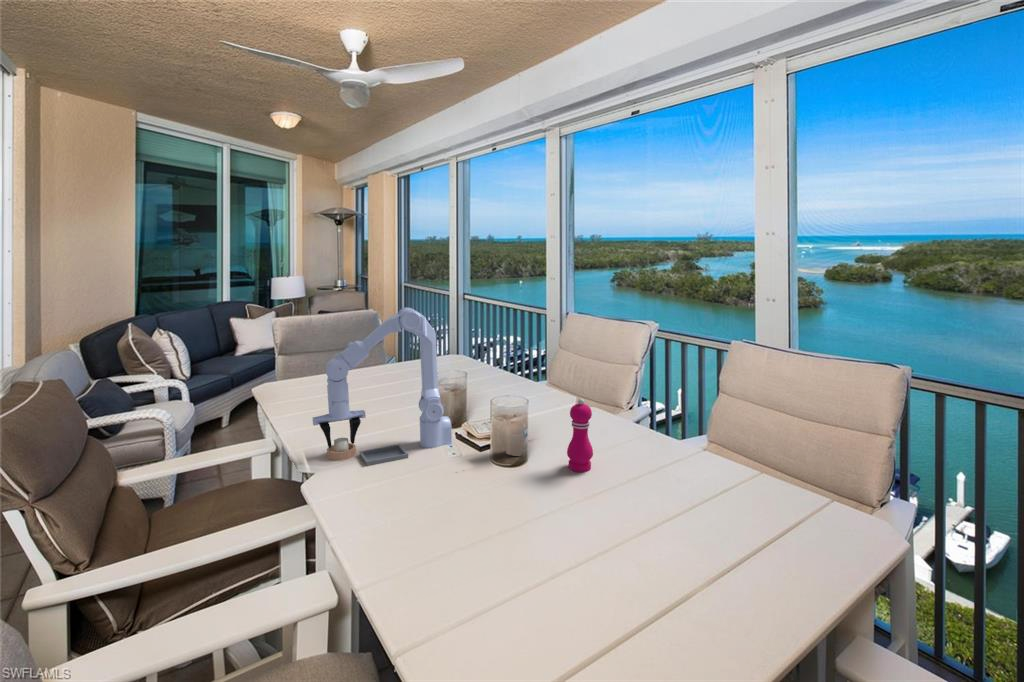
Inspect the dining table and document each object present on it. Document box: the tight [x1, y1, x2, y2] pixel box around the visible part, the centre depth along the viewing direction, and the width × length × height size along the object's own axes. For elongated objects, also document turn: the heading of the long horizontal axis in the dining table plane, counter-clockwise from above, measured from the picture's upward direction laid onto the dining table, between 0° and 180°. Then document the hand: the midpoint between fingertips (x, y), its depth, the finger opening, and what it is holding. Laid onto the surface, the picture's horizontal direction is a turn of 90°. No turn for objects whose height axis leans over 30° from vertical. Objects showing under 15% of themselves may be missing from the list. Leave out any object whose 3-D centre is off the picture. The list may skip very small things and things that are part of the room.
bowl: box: [326, 442, 357, 461], centre depth 144 cm, size 8×8×3 cm
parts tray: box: [358, 443, 409, 467], centre depth 143 cm, size 12×9×2 cm
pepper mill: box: [566, 398, 594, 473], centre depth 135 cm, size 7×7×20 cm
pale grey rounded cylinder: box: [333, 437, 350, 452], centre depth 144 cm, size 4×4×5 cm
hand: (341, 444), depth 144 cm, fingers open, 6 cm apart
